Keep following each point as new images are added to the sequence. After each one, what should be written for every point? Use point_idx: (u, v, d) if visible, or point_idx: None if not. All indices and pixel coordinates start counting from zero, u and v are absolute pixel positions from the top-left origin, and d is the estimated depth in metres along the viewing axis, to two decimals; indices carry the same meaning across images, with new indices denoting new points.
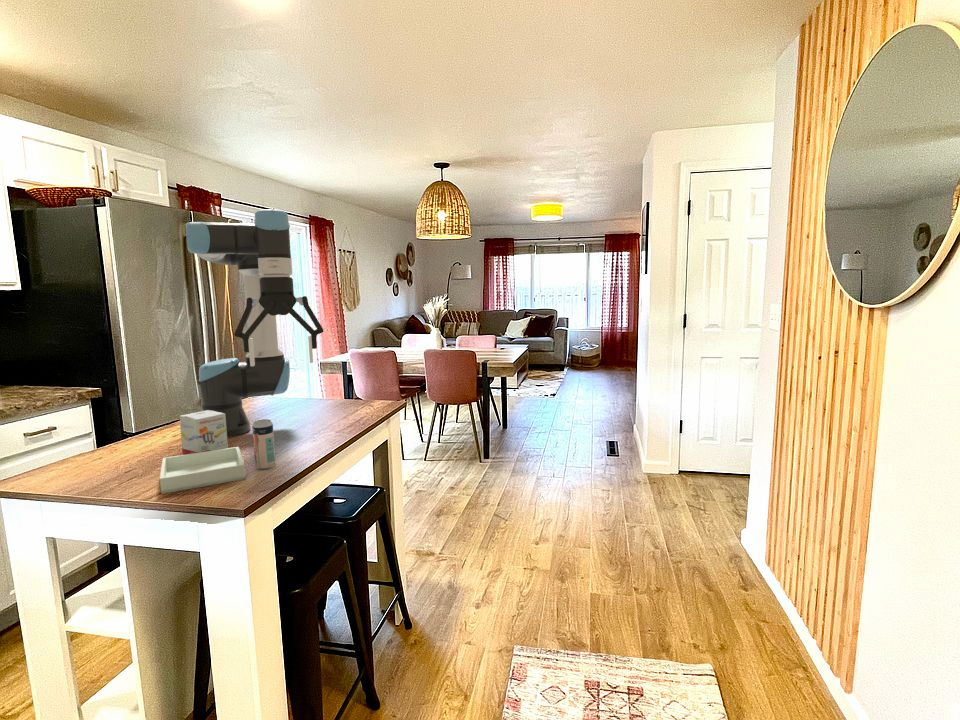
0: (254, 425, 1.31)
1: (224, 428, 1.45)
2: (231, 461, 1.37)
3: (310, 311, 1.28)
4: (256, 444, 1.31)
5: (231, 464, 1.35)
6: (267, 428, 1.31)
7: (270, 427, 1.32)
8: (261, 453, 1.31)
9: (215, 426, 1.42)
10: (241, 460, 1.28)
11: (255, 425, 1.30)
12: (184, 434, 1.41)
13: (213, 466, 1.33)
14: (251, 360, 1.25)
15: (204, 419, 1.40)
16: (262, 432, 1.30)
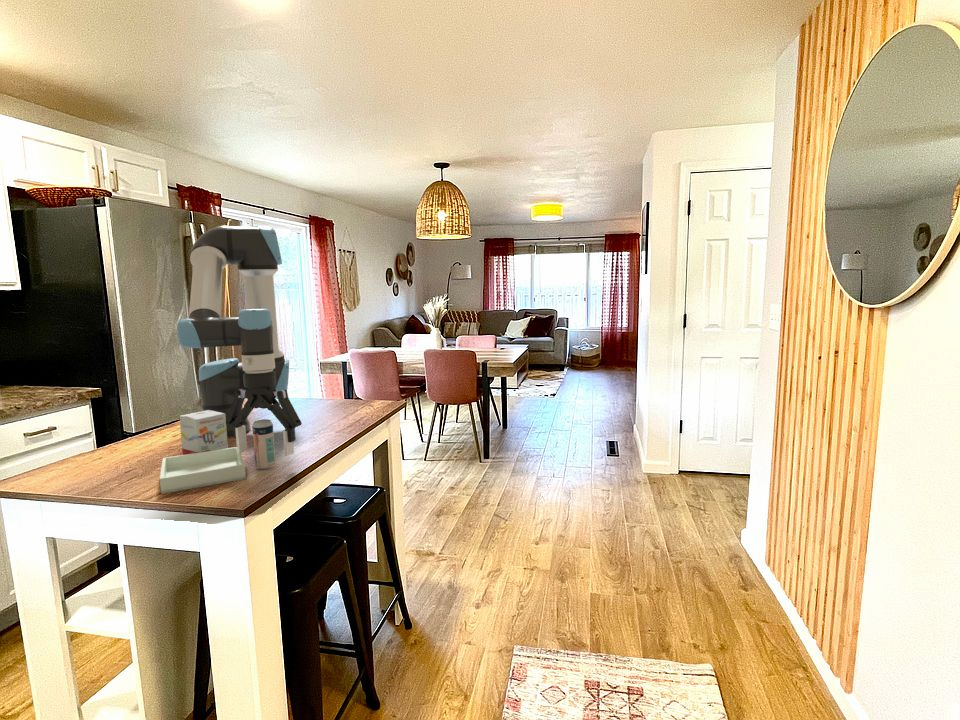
0: (254, 425, 1.31)
1: (224, 428, 1.45)
2: (231, 461, 1.37)
3: (284, 406, 1.28)
4: (256, 444, 1.31)
5: (231, 464, 1.35)
6: (267, 428, 1.31)
7: (270, 427, 1.32)
8: (261, 453, 1.31)
9: (215, 426, 1.42)
10: (241, 460, 1.28)
11: (255, 425, 1.30)
12: (184, 434, 1.41)
13: (213, 466, 1.33)
14: (238, 447, 1.33)
15: (204, 419, 1.40)
16: (262, 432, 1.30)
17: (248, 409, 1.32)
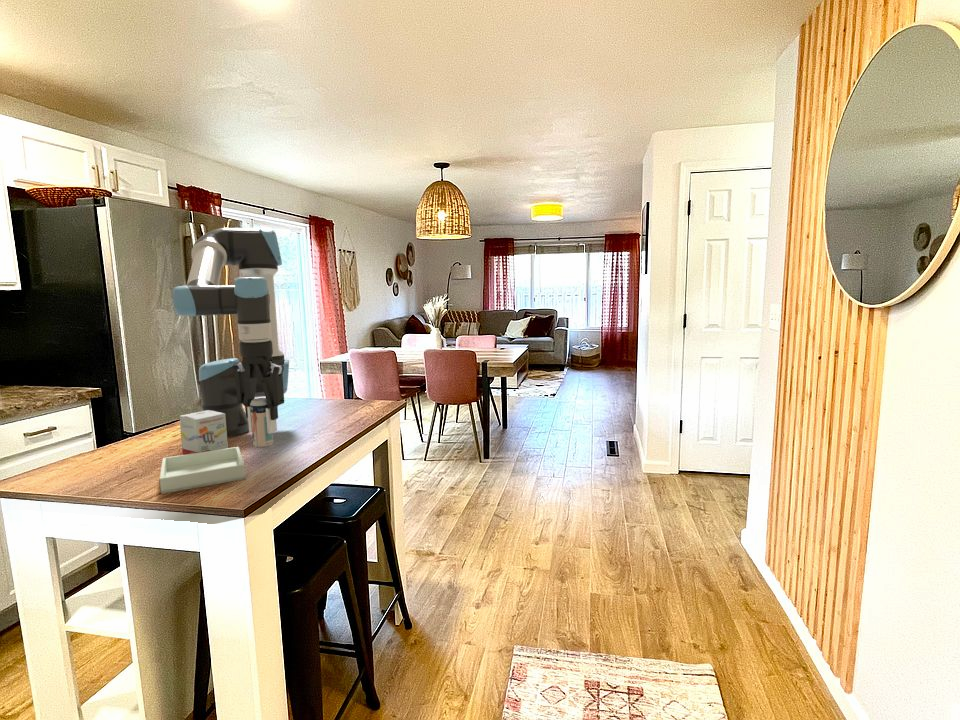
0: (252, 403, 1.30)
1: (224, 428, 1.45)
2: (231, 461, 1.37)
3: (275, 382, 1.28)
4: (254, 422, 1.30)
5: (231, 464, 1.35)
6: (265, 406, 1.30)
7: None
8: (259, 431, 1.30)
9: (215, 426, 1.42)
10: (241, 460, 1.28)
11: (253, 403, 1.30)
12: (184, 434, 1.41)
13: (213, 466, 1.33)
14: (249, 426, 1.32)
15: (204, 419, 1.40)
16: (260, 411, 1.30)
17: (251, 381, 1.31)
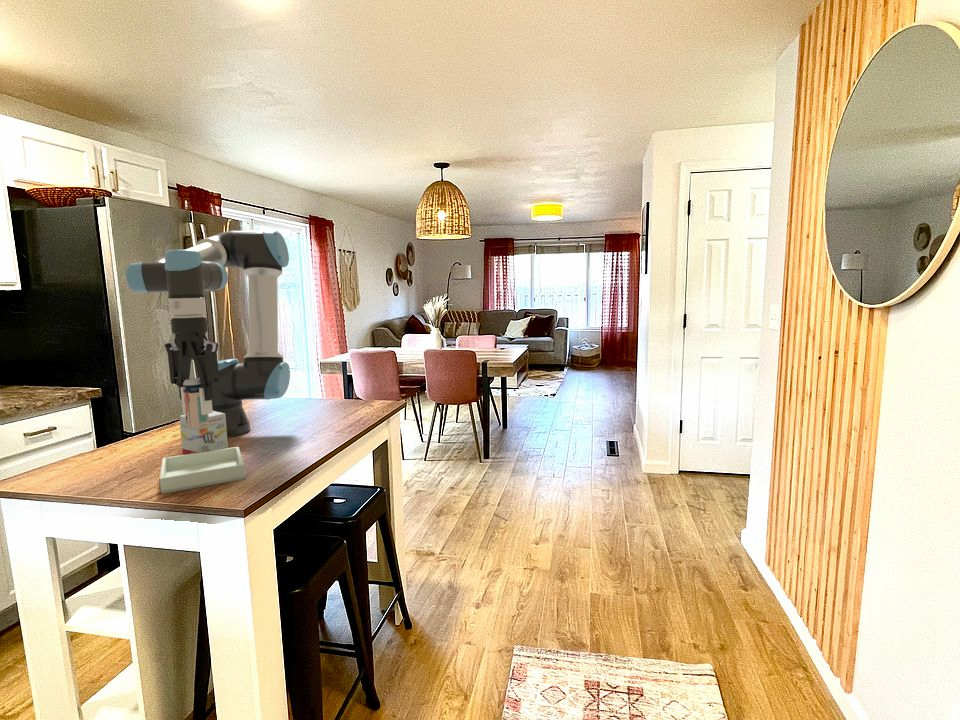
0: (185, 383, 1.24)
1: (224, 428, 1.45)
2: (231, 461, 1.37)
3: (208, 360, 1.22)
4: (187, 403, 1.24)
5: (231, 464, 1.35)
6: (198, 386, 1.24)
7: None
8: (192, 412, 1.24)
9: (215, 426, 1.42)
10: (241, 460, 1.28)
11: (186, 383, 1.24)
12: (184, 434, 1.41)
13: (213, 466, 1.33)
14: (183, 408, 1.26)
15: None
16: (193, 390, 1.24)
17: (184, 360, 1.25)
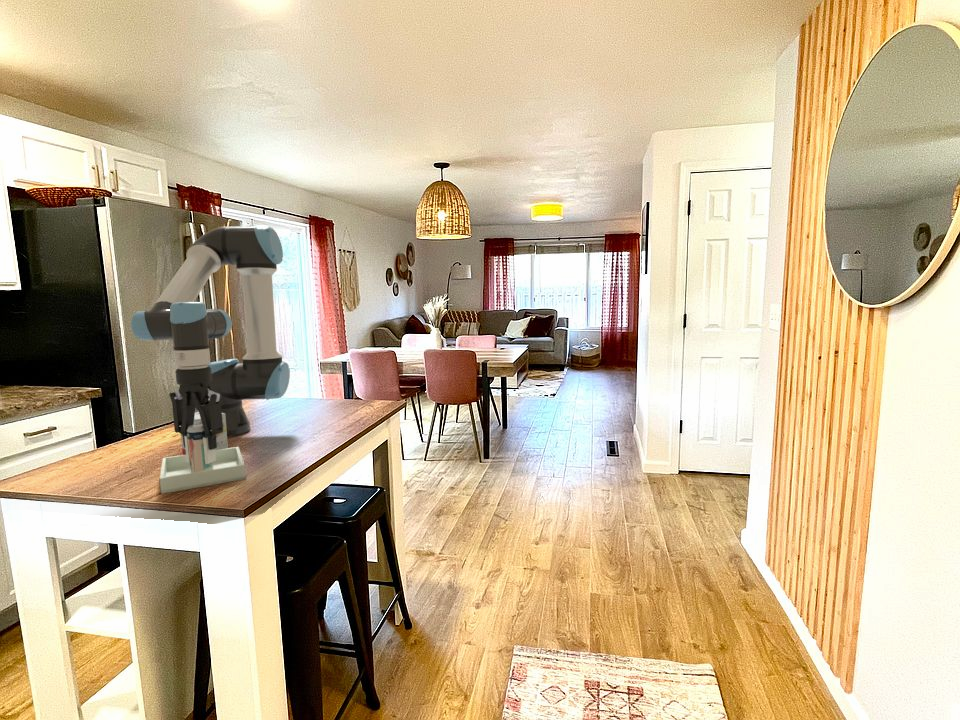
0: (189, 430, 1.25)
1: (224, 428, 1.45)
2: (231, 461, 1.37)
3: (212, 410, 1.24)
4: (191, 450, 1.25)
5: (231, 464, 1.35)
6: (202, 433, 1.25)
7: None
8: (196, 459, 1.25)
9: None
10: (241, 460, 1.28)
11: (190, 430, 1.25)
12: None
13: (213, 466, 1.33)
14: (187, 456, 1.27)
15: None
16: (197, 437, 1.25)
17: (188, 409, 1.26)
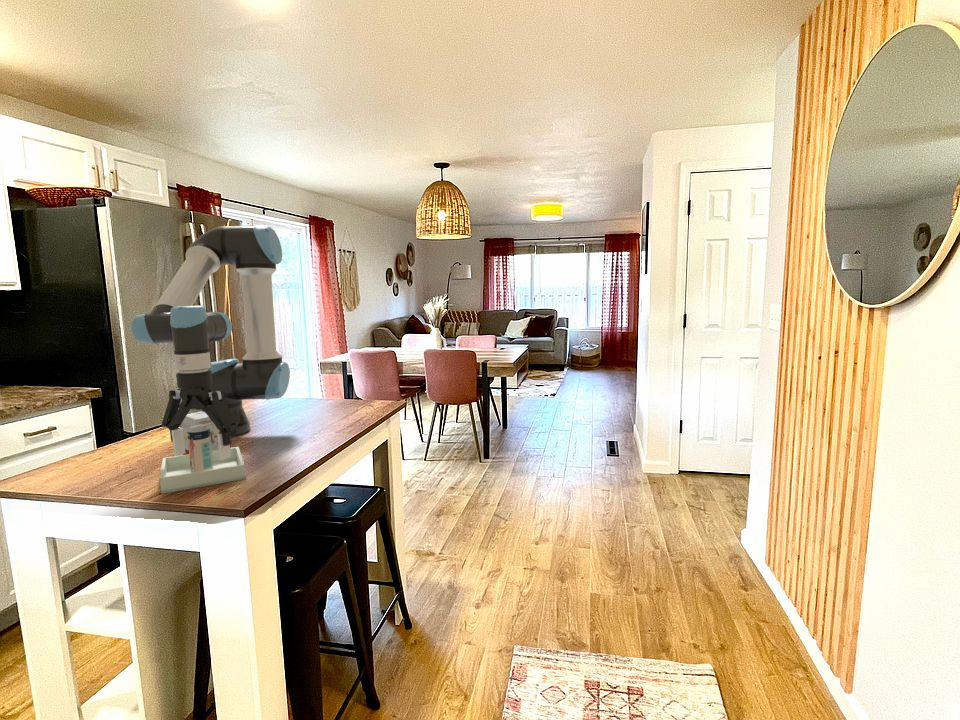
0: (189, 430, 1.25)
1: None
2: (231, 461, 1.37)
3: (218, 408, 1.23)
4: (191, 449, 1.25)
5: (231, 464, 1.35)
6: (203, 433, 1.25)
7: (206, 432, 1.26)
8: (197, 459, 1.25)
9: (215, 426, 1.42)
10: (241, 460, 1.28)
11: (190, 430, 1.25)
12: (184, 434, 1.41)
13: (213, 466, 1.33)
14: (174, 450, 1.29)
15: (204, 419, 1.40)
16: (197, 437, 1.25)
17: (184, 410, 1.27)
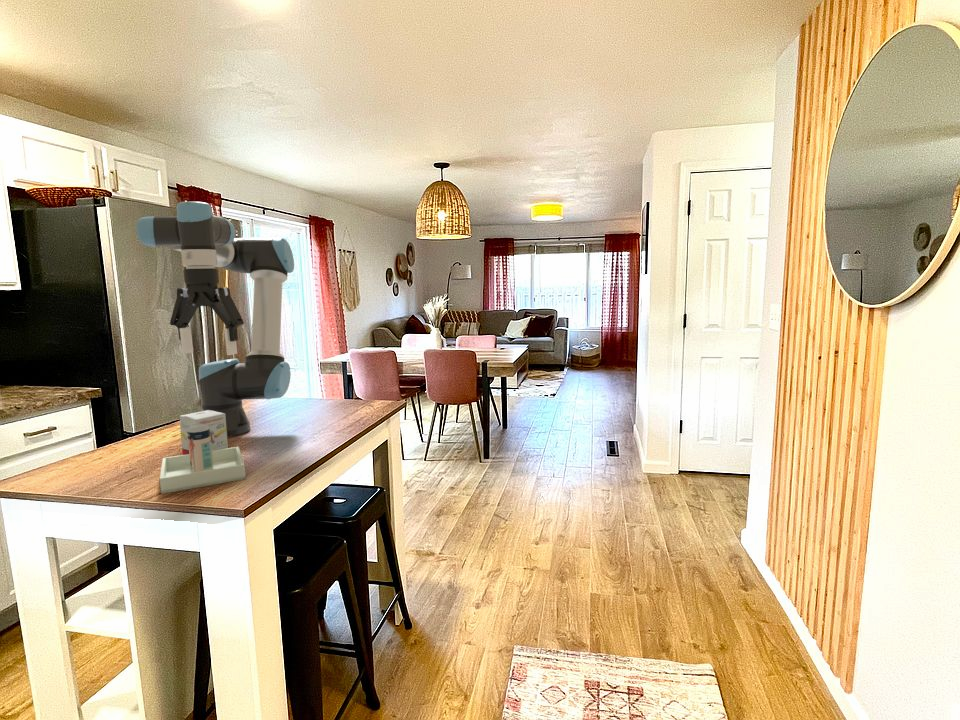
0: (189, 430, 1.25)
1: (224, 428, 1.45)
2: (231, 461, 1.37)
3: (225, 303, 1.26)
4: (191, 450, 1.25)
5: (231, 464, 1.35)
6: (202, 433, 1.25)
7: (206, 432, 1.26)
8: (197, 459, 1.25)
9: (215, 426, 1.42)
10: (241, 460, 1.28)
11: (190, 430, 1.25)
12: (184, 434, 1.41)
13: (213, 466, 1.33)
14: (182, 348, 1.32)
15: (204, 419, 1.40)
16: (197, 437, 1.25)
17: (191, 308, 1.30)
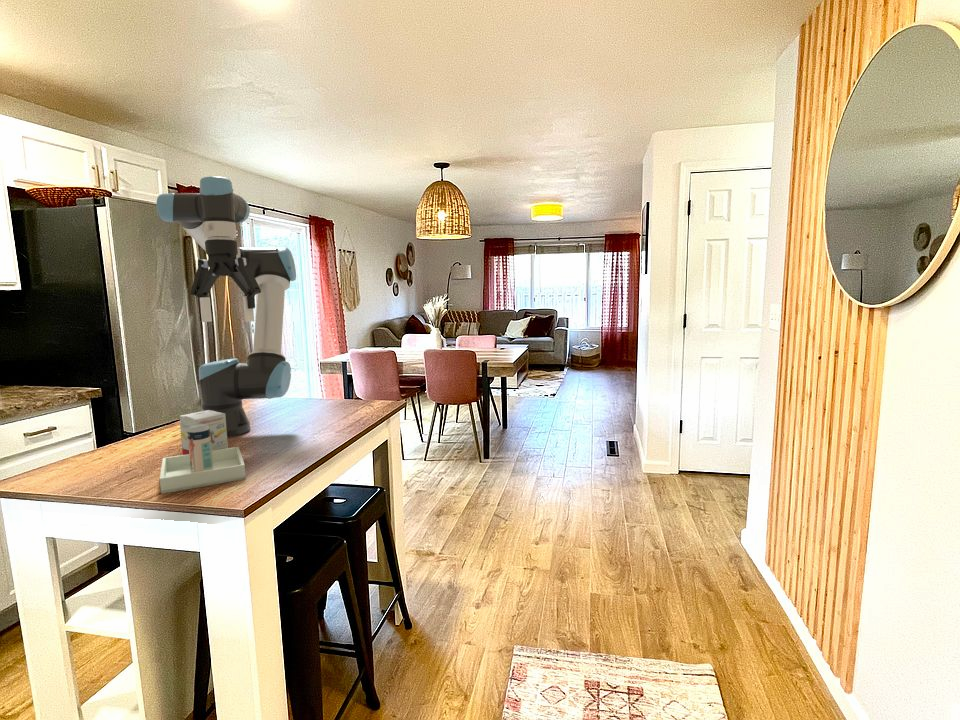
0: (189, 430, 1.25)
1: (224, 428, 1.45)
2: (231, 461, 1.37)
3: (244, 272, 1.34)
4: (191, 450, 1.25)
5: (231, 464, 1.35)
6: (203, 433, 1.25)
7: (206, 432, 1.26)
8: (197, 459, 1.25)
9: (215, 426, 1.42)
10: (241, 460, 1.28)
11: (190, 430, 1.25)
12: (184, 434, 1.41)
13: (213, 466, 1.33)
14: (202, 316, 1.39)
15: (204, 419, 1.40)
16: (197, 437, 1.25)
17: (211, 278, 1.37)
